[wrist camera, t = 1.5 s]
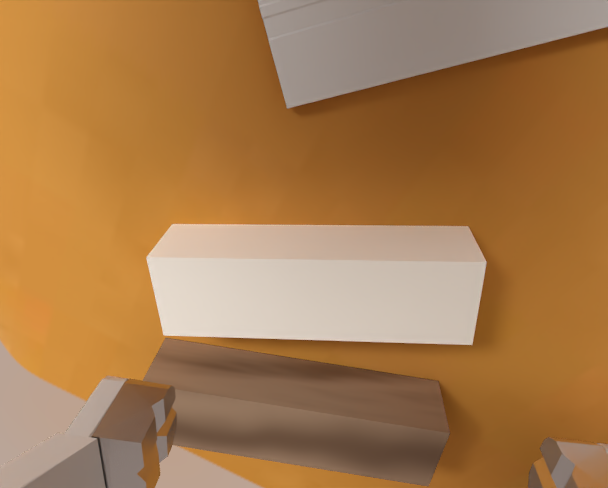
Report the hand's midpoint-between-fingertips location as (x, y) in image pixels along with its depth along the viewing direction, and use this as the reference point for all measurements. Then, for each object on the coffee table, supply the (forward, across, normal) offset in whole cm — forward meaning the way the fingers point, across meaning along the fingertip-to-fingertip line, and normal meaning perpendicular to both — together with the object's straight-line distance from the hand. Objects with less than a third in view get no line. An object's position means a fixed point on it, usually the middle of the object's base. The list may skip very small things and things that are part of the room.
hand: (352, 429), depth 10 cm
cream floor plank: (+22, +2, +8) cm, 23 cm away
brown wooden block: (+21, +2, +20) cm, 29 cm away
